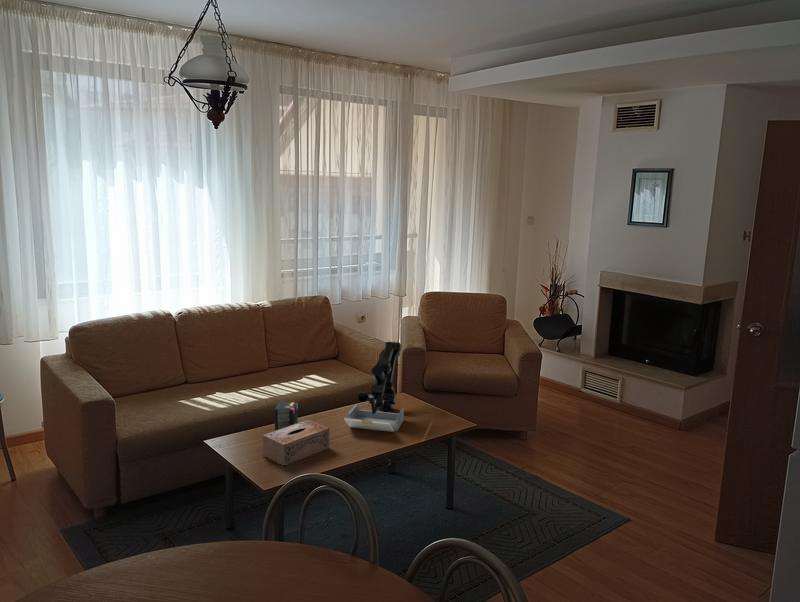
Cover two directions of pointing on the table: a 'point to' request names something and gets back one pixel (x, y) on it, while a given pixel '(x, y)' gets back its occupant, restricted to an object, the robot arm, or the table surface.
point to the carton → (378, 416)
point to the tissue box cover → (295, 442)
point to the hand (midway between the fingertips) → (373, 413)
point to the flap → (369, 424)
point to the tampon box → (286, 414)
